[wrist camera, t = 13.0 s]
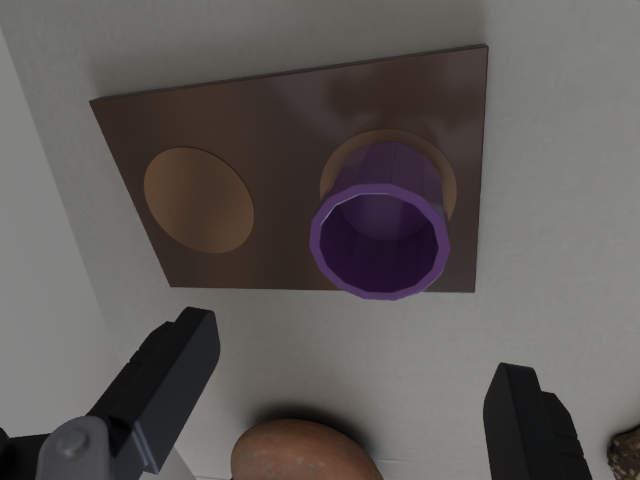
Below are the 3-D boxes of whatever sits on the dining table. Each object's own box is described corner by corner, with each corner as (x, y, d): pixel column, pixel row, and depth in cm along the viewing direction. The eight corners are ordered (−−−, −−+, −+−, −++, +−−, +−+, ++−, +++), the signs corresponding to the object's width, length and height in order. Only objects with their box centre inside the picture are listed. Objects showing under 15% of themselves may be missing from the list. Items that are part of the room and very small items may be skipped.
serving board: (176, 279, 31) (169, 288, 30) (99, 97, 24) (86, 101, 23) (473, 283, 25) (475, 294, 24) (485, 43, 18) (489, 46, 17)
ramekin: (311, 173, 22) (283, 220, 18) (413, 118, 20) (410, 157, 15) (364, 256, 25) (351, 315, 20) (464, 217, 22) (473, 275, 17)
